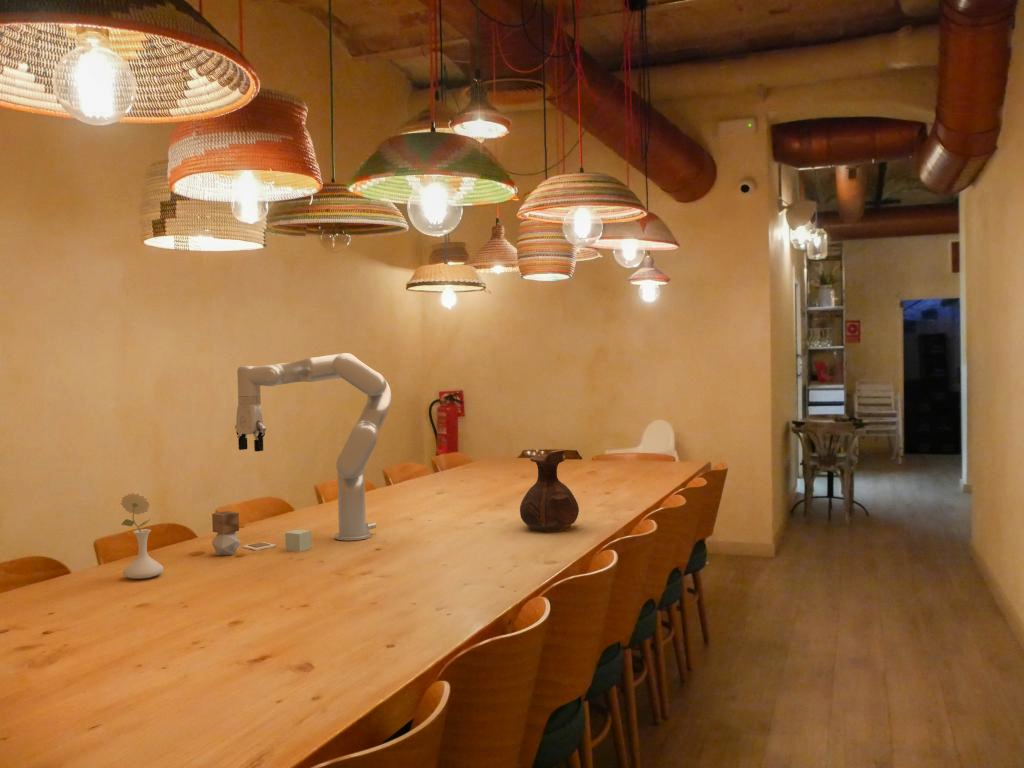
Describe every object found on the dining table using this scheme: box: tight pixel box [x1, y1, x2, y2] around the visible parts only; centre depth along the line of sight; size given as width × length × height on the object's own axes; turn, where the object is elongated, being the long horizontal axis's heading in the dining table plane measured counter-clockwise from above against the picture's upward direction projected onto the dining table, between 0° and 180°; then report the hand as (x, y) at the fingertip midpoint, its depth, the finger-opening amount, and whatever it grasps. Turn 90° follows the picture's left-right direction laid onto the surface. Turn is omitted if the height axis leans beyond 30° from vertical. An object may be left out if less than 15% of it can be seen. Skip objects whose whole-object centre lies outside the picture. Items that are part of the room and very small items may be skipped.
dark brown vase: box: [519, 449, 580, 532], centre depth 325 cm, size 22×22×30 cm
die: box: [211, 531, 242, 556], centre depth 293 cm, size 8×9×10 cm
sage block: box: [284, 529, 312, 553], centre depth 299 cm, size 6×6×6 cm
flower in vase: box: [120, 492, 165, 580], centre depth 265 cm, size 13×11×25 cm
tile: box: [241, 541, 277, 551], centre depth 304 cm, size 8×8×1 cm
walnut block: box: [211, 510, 240, 534], centre depth 293 cm, size 6×6×6 cm
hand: (250, 450), depth 310 cm, fingers open, 9 cm apart
